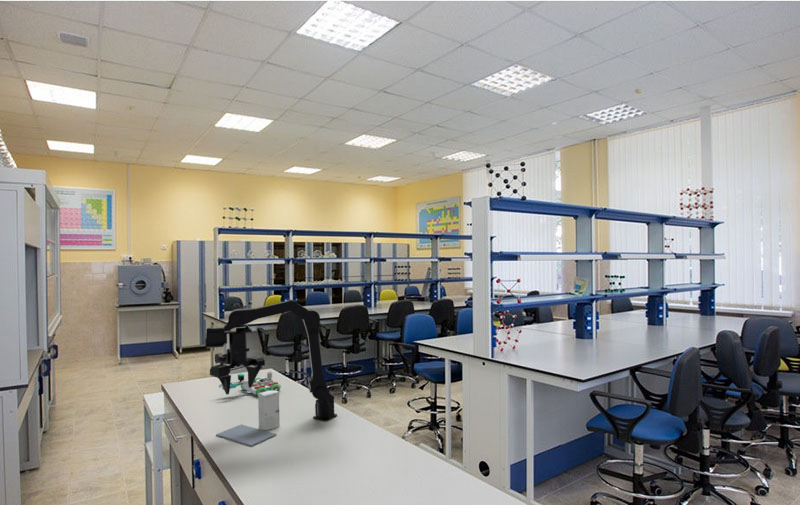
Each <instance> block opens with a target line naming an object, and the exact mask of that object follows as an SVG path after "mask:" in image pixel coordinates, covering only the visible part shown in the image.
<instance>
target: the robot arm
mask: <svg viewBox="0 0 800 505" xmlns="http://www.w3.org/2000/svg"><path fill="white" fill-rule="evenodd" d="M287 312H292V313H293V314H295V316H297V317H298V318H301V319H302V322H303V326H304V328H305V332H306V335H307V342H308V349H309V360H310V368H311V376H310V377H309V376H308V377H307V378H306V379H307V382H308V387H307V389H308V390H309V391H308V392H309V394H311V395H312V396H313V398H315V399H316V400H315V405H314V406H315V409H314V410H315V411H314V412H315V415H314V416H313V417H312V419H314V420H318V421H319V420H320V421H325V422H327V421H329V420H331V419H333V418H335V417H338V414H337V413H335V396H334V394H333V392H332V391H331V389H330V388H328V387H329V386H328V384H327V381H326V378H325V375H324V372H323V365H322V364H323V363H322V354H321V346H320V338H319V332H320V326H321V324H320V323H321V316H320V313H319V312H317V311H316V310H315V309H313V308H306V307H304V305H302V304H299V303H298V302H296V301H295V300H294V299H288V300H285V301H281V302H276V303H272V304H268V305H263V306H259V307H255V308H254V307H253V308H252V307H251V308H250V307H249V308H235V309H233V310H232V311H231V312H230V313H229V316H228V319H227V320H228V321H227V322H226V323H225V324H224V325H223V327H207V328H206V330H205V331H206V334H205V338H204V339H205V340H204V341H205V348H206V349H212V348H213V349H214V348H224V347H225V345H226V344H229V347H228V348H227V349H226V353H224V354H223V353H222V352H219V353H215V354H214V362H215V364H217V365H212V366H211V367H209V368H210V369H209V375H210V376H213V377H214V378H217V379H218V380H219V381H220V383H221V384H222V386H223V388H224V389H223V390H224V392H225V394H226V395H229V394H230V390H231V389H230V382H231V380H232V375H231V374H230V373H231V372H232V371H234V370H238V369H243V368H245V369H246V371H247V380H248V386H249V388H251V387H252V385H253V383H254V381H255V379H256V378H257V376H258V374H259V373H260V371H261V370H262V369H263V366H266V359H265V358H264V356H263V357H262V356H258V355H257V356H256V355H255V356H249V357H248V352H250V347H248V340H247V339H248V338H247V337H248V336H247V334H248V333H252V332H253V329H252V328H251V327H250V326H249V324H250V323H251V322H254V321H256V320H259V319H262V318H263V319H264V318H266V317H271V316H277V315H280V314H284V313H287ZM243 326H244V327H243ZM233 329H235V330H233ZM228 339H229V340H228Z"/></svg>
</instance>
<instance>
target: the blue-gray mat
mask: <svg viewBox="0 0 800 505" xmlns="http://www.w3.org/2000/svg"><path fill="white" fill-rule="evenodd" d="M215 436H216V437H219V438H221V439H225V440H228V441H231V442H236V443H238V444H241V445H245V446H248V447H255V446H257V445H258V444H259V445H260V443H263V442H266V441H267V440H269V439H272V438H274V437H276V436H277V433H274V432H271V431H268V430H265V431H264V430H261V429H260V428H256V427H252V426H248V425H245V424H239V425H236V426H233V427H231V428H229V429H226V430H223V431H220V432H219V433H216V434H215Z"/></svg>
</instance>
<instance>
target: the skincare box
mask: <svg viewBox="0 0 800 505" xmlns="http://www.w3.org/2000/svg"><path fill="white" fill-rule="evenodd" d="M257 399H258V401H257V402H258V405H257V406H258V429H260V430H264V431H268V430H272V429H275V428H278V427H280V422H281V421H280V420H281V419H280V391H279V392H278V391H275V390H271V391H265V392H262V393H258V396H257Z"/></svg>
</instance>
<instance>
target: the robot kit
mask: <svg viewBox="0 0 800 505" xmlns="http://www.w3.org/2000/svg"><path fill="white" fill-rule="evenodd" d="M266 375H267V376H266V377H265V376H264V377H256V378H255V381H254V383H253V385H252V387H251V388H249V386H248V379H246V380H245V374H243V373H238V374H237V381H233V382H230V390H231V389H236V388H237V387H239V386H240V388H241V389H242V391H248V392H250V393H252V394H253V395H256V396H257V397H258V393H262V392H265V391H271V390H275V391H278V392H279V393H280V391H281V388H282V385H281V383H279V382H278V380H277V381H276V380H275V381H274V380H273V372H272V371H268V372H267V373H266ZM218 388H220V389H221V388H222V390H224V388H223V386H222V383H221V384H218Z"/></svg>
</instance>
